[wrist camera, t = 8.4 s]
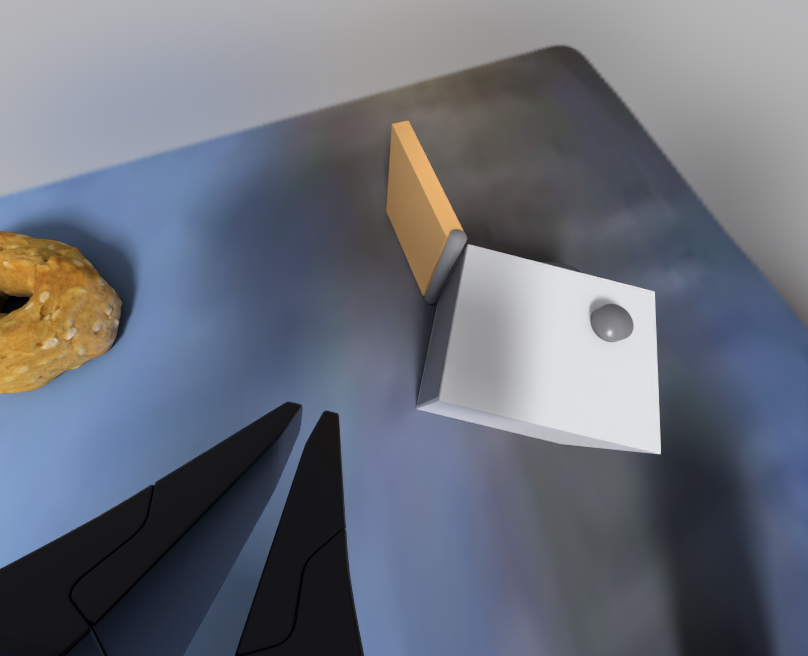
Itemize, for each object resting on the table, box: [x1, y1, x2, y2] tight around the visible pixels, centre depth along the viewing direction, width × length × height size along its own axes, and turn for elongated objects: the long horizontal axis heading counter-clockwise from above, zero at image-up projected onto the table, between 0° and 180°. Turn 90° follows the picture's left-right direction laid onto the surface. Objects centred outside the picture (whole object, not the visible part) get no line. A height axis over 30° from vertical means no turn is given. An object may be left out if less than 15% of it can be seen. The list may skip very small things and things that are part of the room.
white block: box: [416, 244, 661, 454], centre depth 18 cm, size 9×10×8 cm
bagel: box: [0, 231, 122, 393], centre depth 18 cm, size 10×11×5 cm
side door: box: [386, 121, 467, 304], centre depth 20 cm, size 8×1×8 cm, turn 21°
